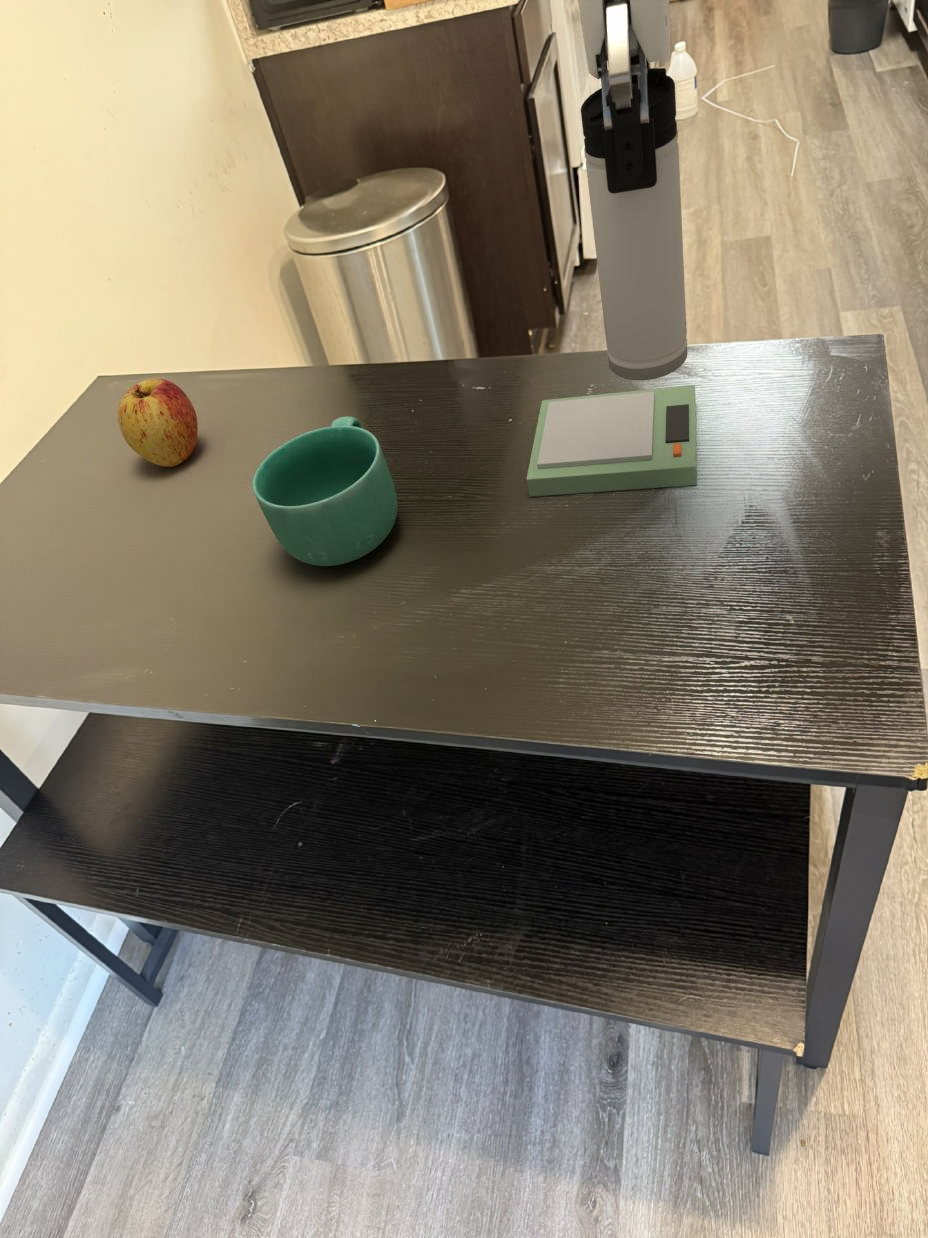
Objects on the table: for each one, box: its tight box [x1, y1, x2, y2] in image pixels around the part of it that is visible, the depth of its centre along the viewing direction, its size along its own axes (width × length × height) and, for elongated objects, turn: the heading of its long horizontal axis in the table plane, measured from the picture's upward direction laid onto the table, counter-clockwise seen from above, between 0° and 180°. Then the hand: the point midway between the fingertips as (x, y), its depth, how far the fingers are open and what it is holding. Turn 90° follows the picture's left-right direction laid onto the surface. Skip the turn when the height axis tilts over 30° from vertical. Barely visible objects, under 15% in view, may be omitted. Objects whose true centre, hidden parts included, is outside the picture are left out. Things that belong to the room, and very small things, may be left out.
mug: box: [252, 416, 399, 567], centre depth 85 cm, size 17×13×10 cm
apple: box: [117, 378, 199, 468], centre depth 104 cm, size 9×9×10 cm
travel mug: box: [580, 67, 688, 381], centre depth 63 cm, size 6×7×20 cm
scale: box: [525, 384, 698, 498], centre depth 87 cm, size 16×14×3 cm
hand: (634, 166), depth 60 cm, fingers closed on travel mug, 6 cm apart
